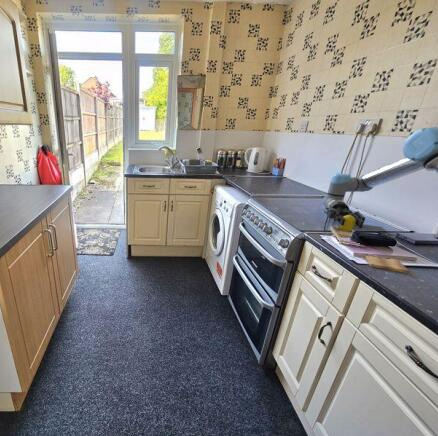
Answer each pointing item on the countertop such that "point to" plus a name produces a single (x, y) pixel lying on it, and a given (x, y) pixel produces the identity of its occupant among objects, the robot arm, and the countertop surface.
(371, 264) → the board
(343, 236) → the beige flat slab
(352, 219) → the lemon
